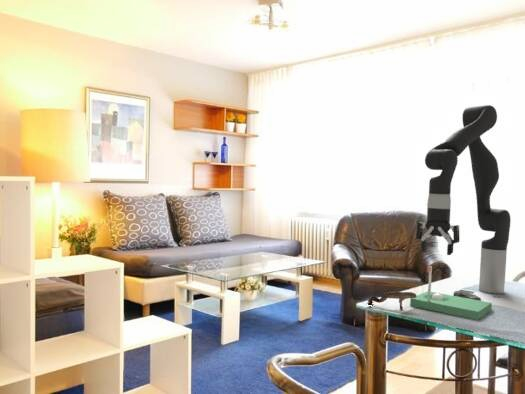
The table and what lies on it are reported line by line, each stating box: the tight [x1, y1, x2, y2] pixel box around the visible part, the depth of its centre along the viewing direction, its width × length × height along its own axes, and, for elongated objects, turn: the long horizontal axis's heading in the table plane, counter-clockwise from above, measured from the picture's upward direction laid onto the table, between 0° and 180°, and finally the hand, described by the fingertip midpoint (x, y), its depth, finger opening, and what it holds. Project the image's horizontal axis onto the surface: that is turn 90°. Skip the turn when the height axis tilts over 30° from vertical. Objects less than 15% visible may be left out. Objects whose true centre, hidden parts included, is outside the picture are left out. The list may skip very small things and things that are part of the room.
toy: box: [366, 290, 417, 311], centre depth 158 cm, size 6×9×15 cm
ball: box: [432, 293, 444, 300], centre depth 164 cm, size 4×4×4 cm
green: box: [409, 290, 493, 320], centre depth 161 cm, size 16×22×2 cm
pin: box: [426, 265, 433, 302], centre depth 157 cm, size 3×1×12 cm, turn 140°
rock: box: [452, 289, 482, 301], centre depth 170 cm, size 8×10×4 cm
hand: (436, 253), depth 164 cm, fingers open, 8 cm apart
